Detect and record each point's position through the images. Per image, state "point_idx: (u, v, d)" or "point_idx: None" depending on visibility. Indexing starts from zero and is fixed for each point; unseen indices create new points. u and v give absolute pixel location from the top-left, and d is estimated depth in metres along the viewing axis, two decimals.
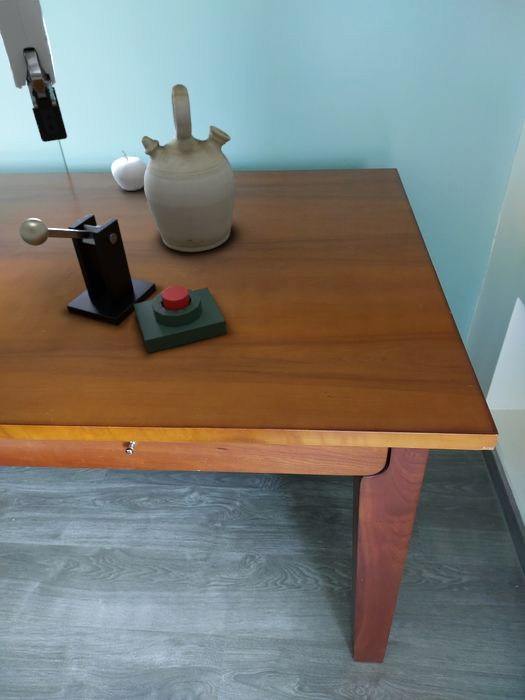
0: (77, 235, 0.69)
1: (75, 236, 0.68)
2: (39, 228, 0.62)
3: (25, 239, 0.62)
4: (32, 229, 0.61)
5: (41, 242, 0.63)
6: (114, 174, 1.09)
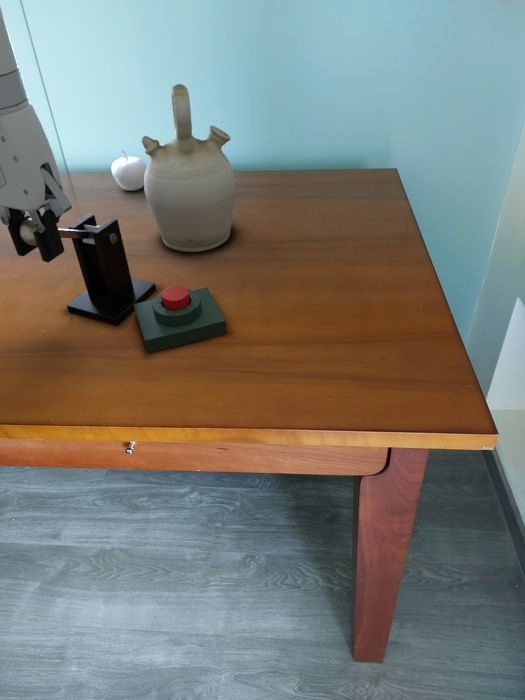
0: (77, 235, 0.69)
1: (75, 236, 0.68)
2: None
3: (25, 239, 0.62)
4: (32, 229, 0.61)
5: None
6: (114, 174, 1.09)
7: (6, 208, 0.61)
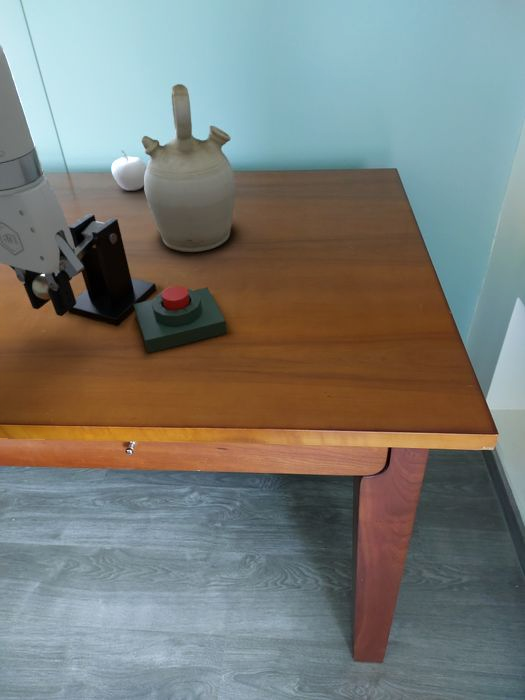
0: (81, 255, 0.70)
1: (79, 257, 0.70)
2: (48, 288, 0.65)
3: (42, 298, 0.67)
4: (43, 292, 0.65)
5: None
6: (114, 174, 1.09)
7: None
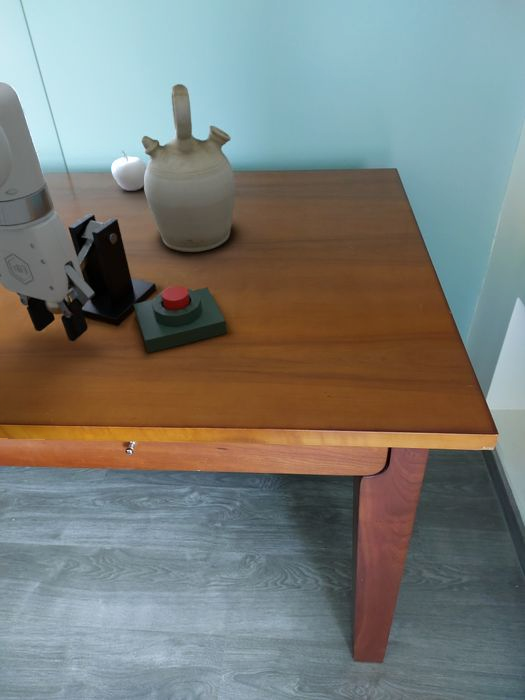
0: (85, 261, 0.71)
1: (84, 264, 0.71)
2: None
3: None
4: (57, 309, 0.68)
5: None
6: (114, 174, 1.09)
7: None
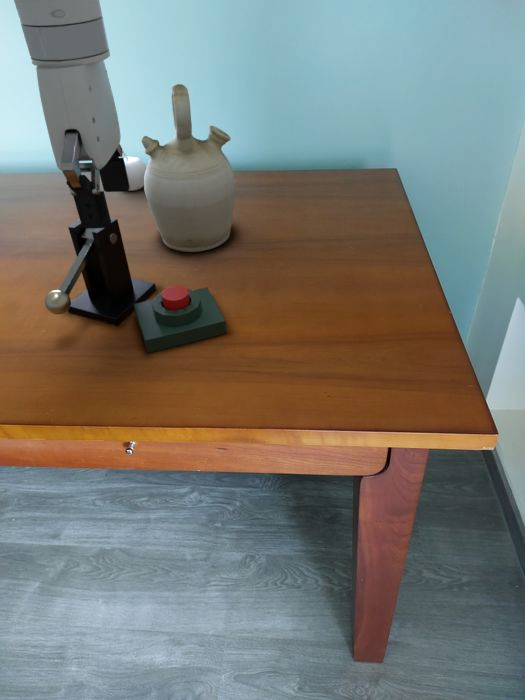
0: (85, 261, 0.71)
1: (84, 264, 0.71)
2: (61, 305, 0.68)
3: None
4: (57, 309, 0.68)
5: (69, 307, 0.70)
6: None
7: None
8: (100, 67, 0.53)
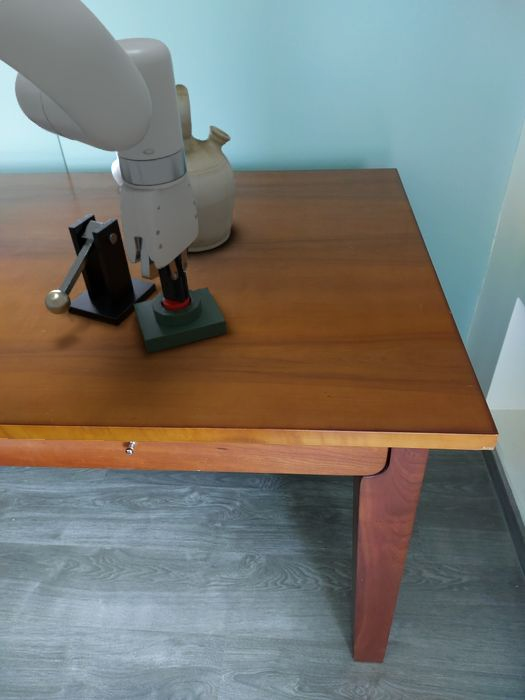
0: (85, 261, 0.71)
1: (84, 264, 0.71)
2: (61, 305, 0.68)
3: None
4: (57, 309, 0.68)
5: (69, 307, 0.70)
6: (114, 174, 1.09)
7: None
8: (177, 186, 0.61)
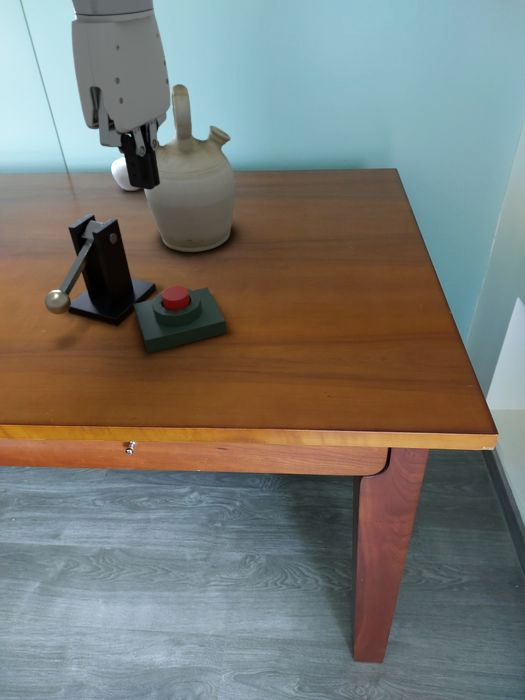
0: (85, 261, 0.71)
1: (84, 264, 0.71)
2: (61, 305, 0.68)
3: None
4: (57, 309, 0.68)
5: (69, 307, 0.70)
6: (114, 174, 1.09)
7: None
8: (141, 28, 0.51)
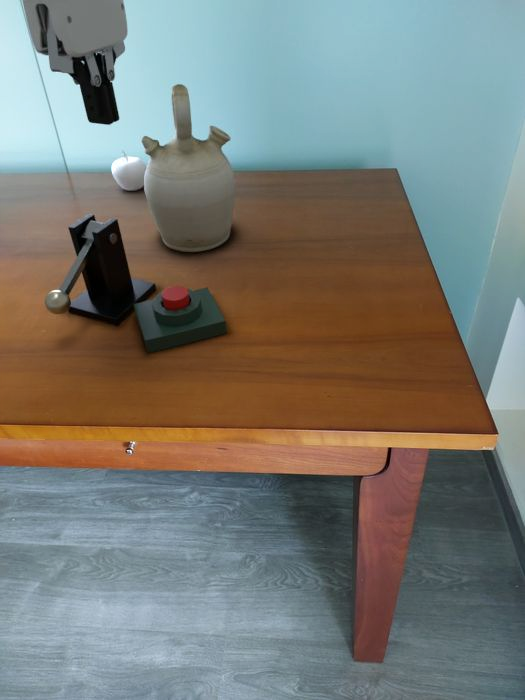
0: (85, 261, 0.71)
1: (84, 264, 0.71)
2: (61, 305, 0.68)
3: None
4: (57, 309, 0.68)
5: (69, 307, 0.70)
6: (114, 174, 1.09)
7: None
8: None
